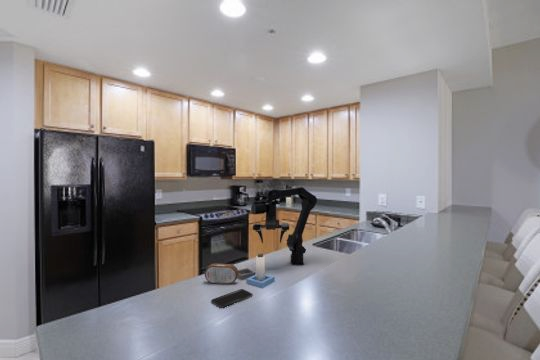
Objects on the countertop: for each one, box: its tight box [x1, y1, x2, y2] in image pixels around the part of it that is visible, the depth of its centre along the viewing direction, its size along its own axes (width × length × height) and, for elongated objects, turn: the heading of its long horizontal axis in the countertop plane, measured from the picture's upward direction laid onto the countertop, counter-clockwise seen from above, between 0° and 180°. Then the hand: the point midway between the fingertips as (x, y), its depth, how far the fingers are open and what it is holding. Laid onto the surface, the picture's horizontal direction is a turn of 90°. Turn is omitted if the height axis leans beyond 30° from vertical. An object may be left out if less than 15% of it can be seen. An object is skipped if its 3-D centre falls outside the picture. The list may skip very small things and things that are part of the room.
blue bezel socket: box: [245, 274, 276, 289], centre depth 116 cm, size 9×9×2 cm
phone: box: [210, 288, 254, 309], centre depth 99 cm, size 8×1×15 cm
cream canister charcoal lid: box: [255, 253, 266, 281], centre depth 116 cm, size 4×4×12 cm
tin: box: [204, 263, 239, 285], centre depth 116 cm, size 15×3×8 cm, turn 84°
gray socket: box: [237, 268, 256, 281], centre depth 124 cm, size 8×8×2 cm
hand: (271, 243), depth 135 cm, fingers open, 9 cm apart
